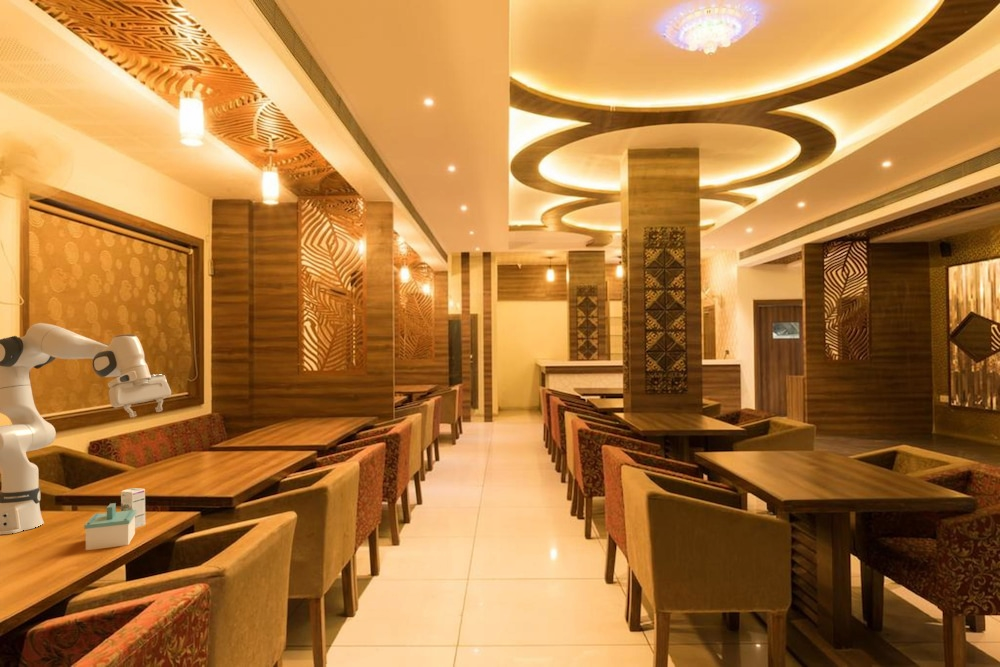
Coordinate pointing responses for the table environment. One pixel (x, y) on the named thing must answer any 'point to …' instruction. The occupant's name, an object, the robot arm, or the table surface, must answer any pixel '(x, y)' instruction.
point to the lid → (110, 518)
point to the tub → (110, 536)
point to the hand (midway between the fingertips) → (146, 414)
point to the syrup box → (134, 504)
